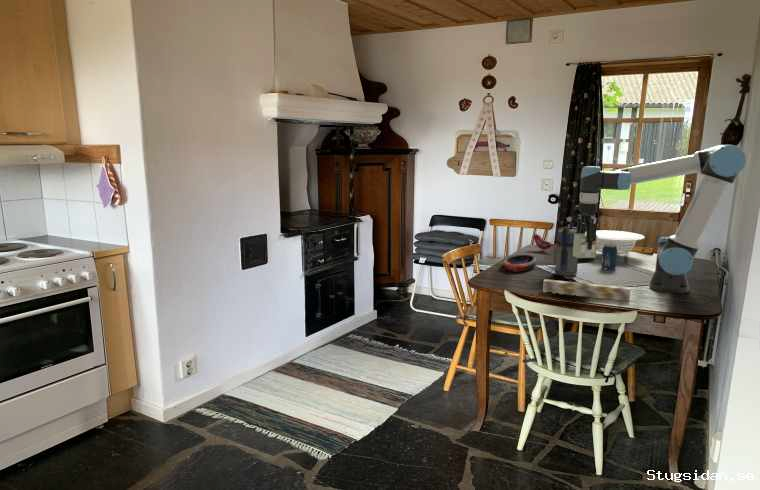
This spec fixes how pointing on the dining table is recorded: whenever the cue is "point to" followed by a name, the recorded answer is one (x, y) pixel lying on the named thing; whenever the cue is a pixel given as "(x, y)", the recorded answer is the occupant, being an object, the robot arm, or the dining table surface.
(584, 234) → the sage carton
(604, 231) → the colander
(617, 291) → the price rail shelf lip
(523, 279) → the dining table surface
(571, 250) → the beverage bottle
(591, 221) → the robot arm
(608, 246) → the soda can
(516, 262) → the dish
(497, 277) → the dining table surface
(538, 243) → the decorative bird figurine
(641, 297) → the dining table surface
